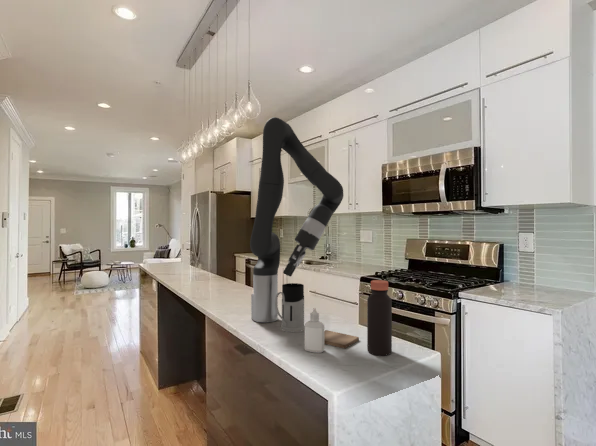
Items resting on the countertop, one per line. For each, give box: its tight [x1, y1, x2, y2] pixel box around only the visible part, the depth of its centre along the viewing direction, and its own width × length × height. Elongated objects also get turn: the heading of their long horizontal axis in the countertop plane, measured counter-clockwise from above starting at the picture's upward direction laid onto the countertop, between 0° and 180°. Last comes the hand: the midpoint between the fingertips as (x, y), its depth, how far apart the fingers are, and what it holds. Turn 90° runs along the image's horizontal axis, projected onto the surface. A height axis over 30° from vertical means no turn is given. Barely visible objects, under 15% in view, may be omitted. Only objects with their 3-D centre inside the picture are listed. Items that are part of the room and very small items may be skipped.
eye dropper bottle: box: [304, 307, 326, 354], centre depth 98 cm, size 4×6×12 cm
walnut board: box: [324, 329, 360, 349], centre depth 107 cm, size 12×9×1 cm
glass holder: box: [275, 282, 305, 333], centre depth 117 cm, size 9×14×15 cm, turn 147°
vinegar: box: [366, 279, 393, 357], centre depth 97 cm, size 7×7×20 cm
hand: (286, 275), depth 116 cm, fingers open, 8 cm apart
